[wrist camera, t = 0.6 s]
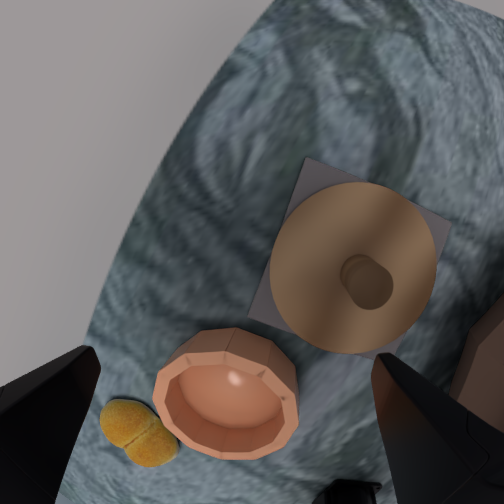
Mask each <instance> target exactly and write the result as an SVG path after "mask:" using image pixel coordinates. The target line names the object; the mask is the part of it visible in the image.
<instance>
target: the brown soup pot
mask: <svg viewBox="0 0 504 504" xmlns="http://www.w3.org/2000/svg"><path fill="white" fill-rule="evenodd" d="M449 396H451V397H452V398H453V399H455V400H456V401H457V402H459V403H460V404H462V405H463V406H464V407H466V408H467V410H470V411H471V412H473V413H474V414H475V415H477V416H478V417H480V418H481V419H483V420H484V421H485V422H487V423H488V424H490V425H491V426H493V427H495V428H496V429H498V430H500V431H501V432H503V433H504V293H503V294H502V295H501V296H500V298H499V299H498V300H497V301H496V302H495V303H494V304H493V305H492V307H491V308H490V309H489V310H488V311H487V312H486V313H485V314H484V315H483V316H482V317H481V318H480V319H479V320H478V321H477V322H476V323H475V324H474V325H473V326H472V327H471V328H470V329H469V332H468V336H467V339H466V342H465V346H464V349H463V352H462V355H461V358H460V361H459V363H458V366H457V369H456V372H455V374H454V377H453V380H452V382H451V387H450V391H449Z"/></svg>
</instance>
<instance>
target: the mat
mask: <svg viewBox="0 0 504 504" xmlns="http://www.w3.org/2000/svg"><path fill="white" fill-rule="evenodd" d="M352 182H364V183H370V182H367V181H365V180H363V179H360V178H358V177H356V176H353V175H351V174H348V173H346V172H344V171H341V170H339V169H336V168H334V167H331V166H328V165H326V164H323V163H321V162H318V161H315V160H313V159H310V158H307V157H306V158H305V161H304V164H303V167H302V170H301V172H300V175H299V178H298V181H297V184H296V186H295V189H294V192H293V195H292V197H291V200H290V203H289V206H288V208H287V211H286V214H285V217H284V219H283V222H282V225H281V228H282V226H283V225H284V223H285V221H286V220H287V218H288V217H289V216H290V215H291V214H292V212H293V211H294V210H295V209H296V208H297V207H298V206H299V205H300V204H301V203H302V202H304V201H305V200H306V199H308V198H309V197H311V196H312V195H314V194H316V193H318V192H320V191H321V190H323V189H326V188H329V187H332V186H334V185H339V184H343V183H352ZM408 201H409V200H408ZM409 202H410V203H411V204H412V205H413V206H414V207H415V208H416V209H417V210H418V211H419V213H420V214H421V215H422V217H423V218H424V220H425V222H426V223H427V225H428V227H429V229H430V232H431V235H432V237H433V241H434V245H435V250H436V259H437V264H438V261H439V259H440V256H441V253H442V251H443V248H444V245H445V242H446V239H447V237H448V234H449V231H450V228H451V225H452V223H451V222H450V221H448V220H446V219H444V218H442V217H440V216H438V215H436V214H435V213H433V212H431V211H429V210H427V209H425V208H423V207H421V206H419V205H417V204H415V203H413V202H411V201H409ZM281 228H280V230H281ZM280 230H279V232H280ZM278 234H279V233H278ZM276 239H277V238H276ZM272 251H273V249H272ZM271 255H272V252H271ZM271 255H270V257H269V260H268V263H267V265H266V268H265V271H264V273H263V276H262V279H261V281H260V284H259V287H258V289H257V292H256V295H255V297H254V300H253V302H252V305H251V308H250V310H249V313H248V315H247V317H249V318H251V319H254V320H257V321H259V322H262V323H265V324H268V325H270V326H273V327H276V328H278V329H281V330H284V331H287V332H290V333H292V334H295V335H297V334H296V333H295V332H294V331H293V330H292V329H291V328H290V327H289V326H288V325H287V323H286V322H285V321H284V319H283V318H282V316H281V314H280V313H279V311H278V309H277V306H276V304H275V301H274V299H273V295H272V291H271V285H270V261H271ZM437 264H436V266H437ZM406 332H407V331H406ZM406 332H405V333H404V334H402V335H401V336H400V337H398V338H397V339H395V340H394V341H392V342H390V343H389V344H387V345H385V346H382V347H380V348H377V349H375V350H371V351H367V352H363V353H355V354H356V355H359V356H362V357H365V358H369V359H372V360H375V357H376V355H377V354H378V353H385V352H390V353H392V354H393V355H394V354H395V352H396V351H397V349H398V347H399V345H400V343H401V341H402V340H403V338H404V336H405V334H406Z"/></svg>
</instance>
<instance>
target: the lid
mask: <svg viewBox="0 0 504 504" xmlns="http://www.w3.org/2000/svg"><path fill="white" fill-rule="evenodd" d="M436 264H437V259H436V250H435V245H434V241H433V237H432V235H431V232H430V229H429V227H428V225H427V223H426V222H425V220H424V218H423V217H422V215H421V214H420V213H419V211H418V210H417V209H416V208H415V207H414V206H413V205H412V204H411V203H410V202H409V201H408V200H407V199H405V198H404V197H403V196H401V195H400V194H398V193H396V192H395V191H393V190H391V189H389V188H386V187H383V186H381V185H376V184H372V183H364V182H352V183H343V184H339V185H334V186H332V187H329V188H326V189H323V190H321V191H320V192H318V193H316V194H314V195H312V196H311V197H309V198H308V199H306V200H305V201H304V202H302V203H301V204H300V205H299V206H298V207H297V208H296V209H295V210H294V211H293V212H292V214H291V215H290V216H289V217H288V218H287V220H286V221H285V223H284V225H283V226H282V228H281V230H280V232H279V234H278V236H277V239H276V241H275V244H274V247H273V251H272V255H271V261H270V285H271V291H272V295H273V299H274V301H275V304H276V306H277V309H278V311H279V313H280V314H281V316H282V318H283V319H284V321H285V322H286V323H287V325H288V326H289V327H290V328H291V329H292V330H293V331H294V332H295V333H296V334H297V335H298V336H299V337H301V338H302V339H303V340H305V341H306V342H308V343H310V344H311V345H313V346H315V347H318V348H320V349H323V350H326V351H330V352H334V353H343V354H355V353H363V352H367V351H371V350H375V349H377V348H380V347H382V346H385V345H387V344H389V343H390V342H392V341H394V340H395V339H397V338H398V337H400V336H401V335H402V334H404V333H405V332H406V331H407V330H408V329H409V328H410V327H411V326H412V325H413V324H414V323H415V321H416V320H417V319H418V318H419V316H420V315H421V313H422V312H423V310H424V308H425V307H426V305H427V303H428V301H429V298H430V296H431V293H432V290H433V286H434V283H435V277H436Z"/></svg>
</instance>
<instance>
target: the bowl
mask: <svg viewBox="0 0 504 504" xmlns="http://www.w3.org/2000/svg"><path fill="white" fill-rule="evenodd" d="M152 399H153V402H154V404H155V406H156V409H157V411H158V413H159V416H160V418H161V420H162V422H163V425H164V426H165V427H166V428H167V429H168V430H169V431H170V432H172V433H173V434H174V435H175V436H176V437H177V438H178V439H180V440H181V441H182V442H183V443H184V444H186V445H187V446H188V447H190V448H192V449H195V450H197V451H200V452H202V453H205V454H208V455H210V456H213V457H216V458H219V459H229V460H255V459H257V458H260V457H262V456H265V455H267V454H270V453H272V452H274V451H276V450H279V449H281V448H283V447H284V446H285V444H286V443H287V441H288V440H289V439H290V437H291V436H292V434H293V433H294V431H295V430H296V428H297V427H298V425H299V389H298V382H297V375H296V368H295V365H294V364H293V363H292V362H291V361H290V360H289V359H288V358H287V356H286V355H285V354H284V353H283V352H282V351H281V350H280V349H279V348H278V347H277V345H276V344H275V343H274V342H273V341H272V340H269V339H266V338H263V337H261V336H258V335H255V334H253V333H250V332H247V331H245V330H242V329H240V328H236V327H235V328H225V329H214V330H203V331H200V332H199V333H197V334H196V335H195V336H193V337H192V338H191V339H189V340H188V341H187V342H185V343H184V344H182V345H181V346H180V347H178V348H177V349H176V351H175V352H174V353H173V354H172V356H171V357H170V358H169V359H168V361H167V362H166V363H165V364H164V366H163V367H162V368H161V369H160V371H159V372H158V375H157V380H156V384H155V388H154V393H153V397H152Z"/></svg>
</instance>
